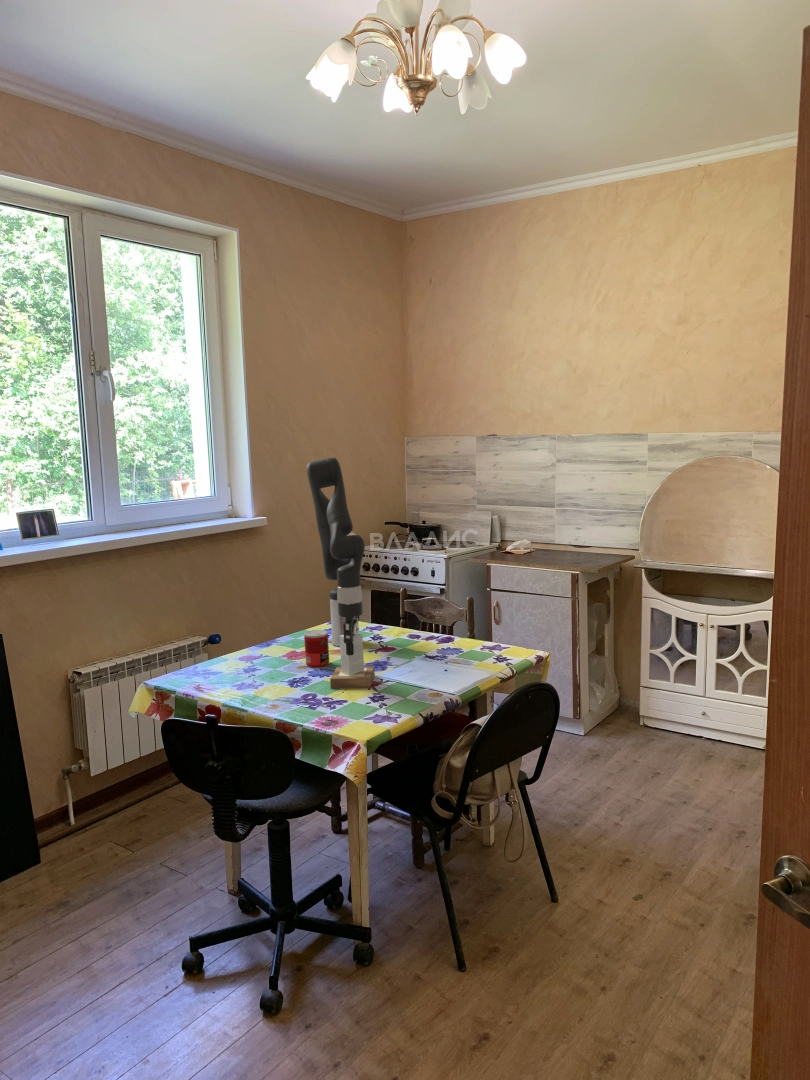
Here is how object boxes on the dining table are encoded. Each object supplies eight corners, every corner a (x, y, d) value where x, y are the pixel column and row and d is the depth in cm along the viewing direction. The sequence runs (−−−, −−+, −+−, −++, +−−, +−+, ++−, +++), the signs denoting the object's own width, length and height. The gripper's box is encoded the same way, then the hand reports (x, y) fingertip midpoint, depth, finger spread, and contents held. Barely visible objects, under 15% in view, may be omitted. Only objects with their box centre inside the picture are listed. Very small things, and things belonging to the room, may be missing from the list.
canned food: (325, 668, 247) (323, 636, 245) (302, 667, 248) (300, 635, 247) (332, 661, 254) (330, 630, 252) (310, 660, 256) (308, 629, 254)
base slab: (337, 675, 238) (337, 666, 238) (374, 675, 237) (374, 665, 237) (330, 688, 227) (330, 678, 226) (369, 688, 226) (369, 678, 225)
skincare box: (356, 668, 235) (354, 631, 233) (364, 671, 232) (362, 633, 230) (340, 672, 231) (338, 635, 229) (349, 675, 228) (347, 637, 226)
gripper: (341, 594, 236) (344, 644, 238) (333, 605, 222) (336, 658, 224) (365, 594, 235) (367, 644, 237) (358, 605, 221) (361, 657, 223)
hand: (352, 650), depth 231 cm, fingers open, 8 cm apart
